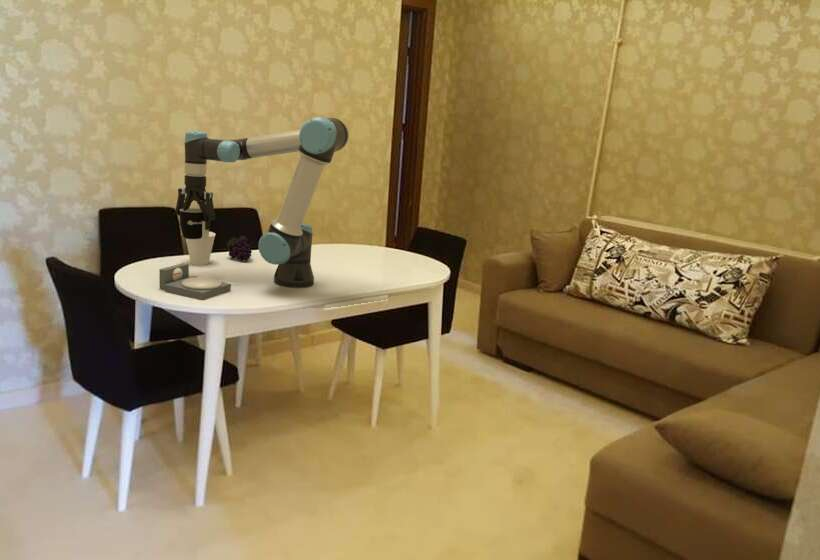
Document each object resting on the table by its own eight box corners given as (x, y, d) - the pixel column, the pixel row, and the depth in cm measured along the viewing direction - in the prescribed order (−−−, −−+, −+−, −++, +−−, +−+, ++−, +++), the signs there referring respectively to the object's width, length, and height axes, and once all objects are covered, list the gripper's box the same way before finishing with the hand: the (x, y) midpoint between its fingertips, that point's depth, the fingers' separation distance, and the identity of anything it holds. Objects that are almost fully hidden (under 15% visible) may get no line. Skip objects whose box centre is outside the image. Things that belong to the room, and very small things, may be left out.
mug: (183, 240, 235) (183, 212, 232) (176, 235, 242) (176, 208, 239) (216, 239, 241) (217, 211, 239) (209, 234, 249) (209, 208, 246)
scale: (230, 290, 232) (231, 271, 230) (202, 300, 218) (203, 279, 216) (185, 281, 238) (186, 262, 237) (156, 289, 225) (156, 269, 223)
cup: (220, 265, 266) (221, 235, 263) (194, 268, 257) (194, 237, 254) (204, 259, 273) (205, 229, 270) (178, 261, 264) (178, 231, 261)
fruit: (239, 270, 273) (220, 254, 281) (260, 263, 280) (241, 248, 288) (239, 248, 268) (220, 233, 276) (261, 243, 275) (242, 227, 283)
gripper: (226, 178, 236) (225, 239, 242) (178, 171, 244) (178, 230, 249) (213, 179, 229) (212, 242, 235) (164, 172, 237) (164, 233, 242)
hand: (194, 236), depth 242 cm, fingers closed on mug, 9 cm apart
